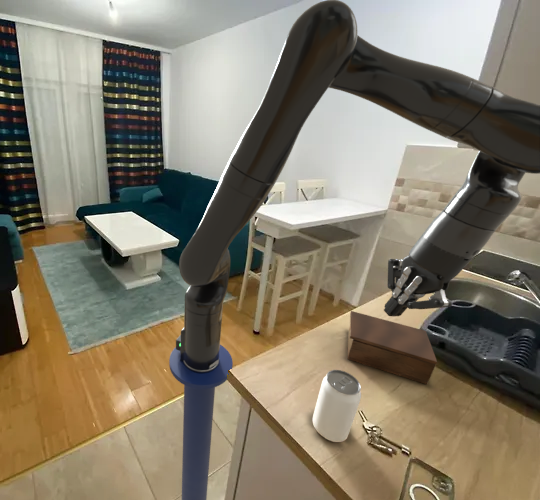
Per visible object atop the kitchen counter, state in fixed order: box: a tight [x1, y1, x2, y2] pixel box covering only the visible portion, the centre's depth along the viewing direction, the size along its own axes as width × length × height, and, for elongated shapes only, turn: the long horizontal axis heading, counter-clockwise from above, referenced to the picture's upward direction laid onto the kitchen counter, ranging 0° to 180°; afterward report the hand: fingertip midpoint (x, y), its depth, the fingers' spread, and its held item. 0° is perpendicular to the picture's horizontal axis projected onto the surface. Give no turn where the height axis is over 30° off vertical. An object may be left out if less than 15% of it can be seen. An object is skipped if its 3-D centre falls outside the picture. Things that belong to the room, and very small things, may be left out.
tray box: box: [347, 327, 437, 385], centre depth 75 cm, size 17×13×6 cm
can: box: [312, 369, 362, 443], centre depth 54 cm, size 6×6×12 cm
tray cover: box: [349, 310, 438, 365], centre depth 73 cm, size 17×13×1 cm
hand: (389, 313), depth 58 cm, fingers closed
